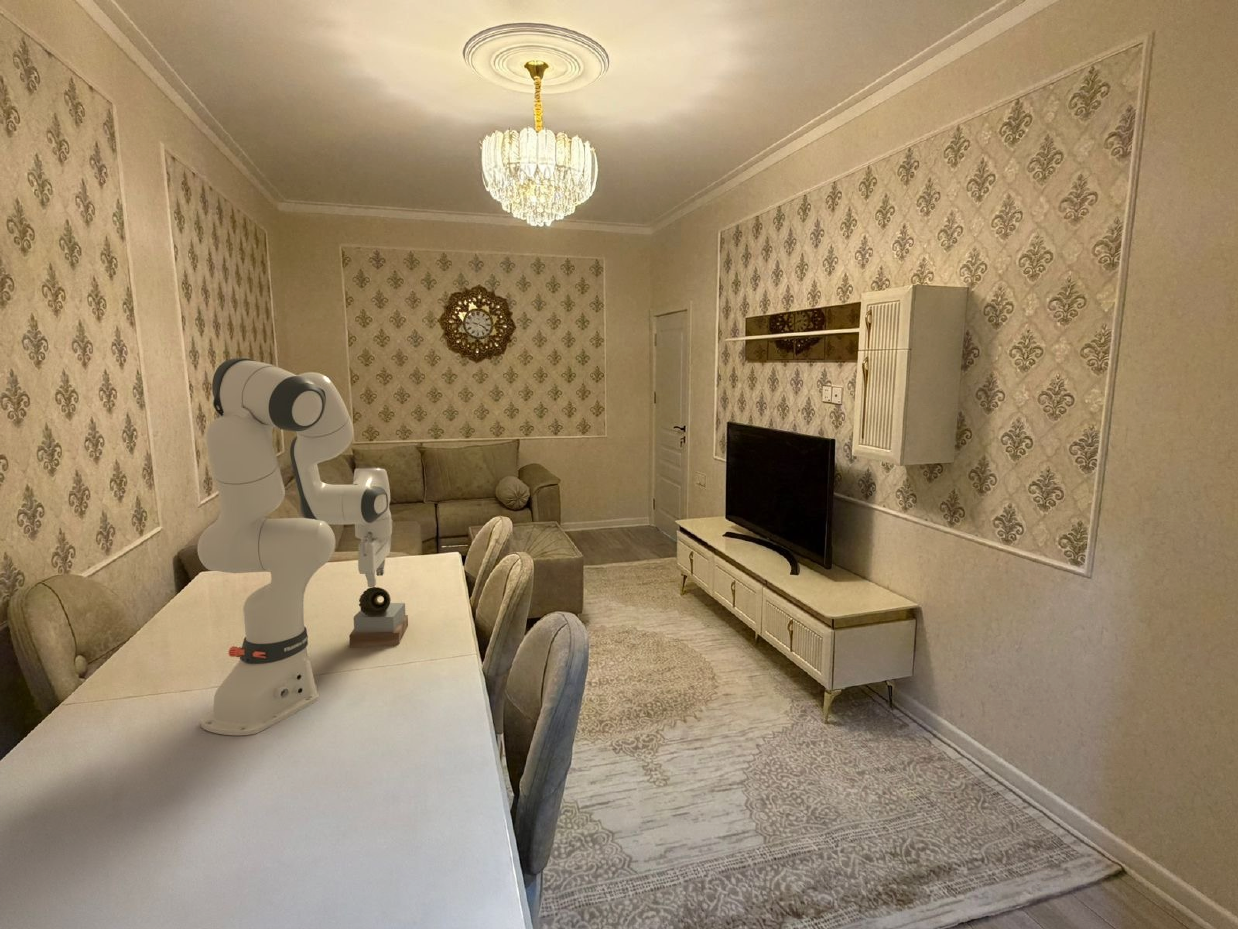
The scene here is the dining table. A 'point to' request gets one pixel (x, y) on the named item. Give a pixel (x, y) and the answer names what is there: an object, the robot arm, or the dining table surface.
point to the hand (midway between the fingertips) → (376, 580)
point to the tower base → (378, 636)
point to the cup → (374, 601)
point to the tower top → (380, 620)
